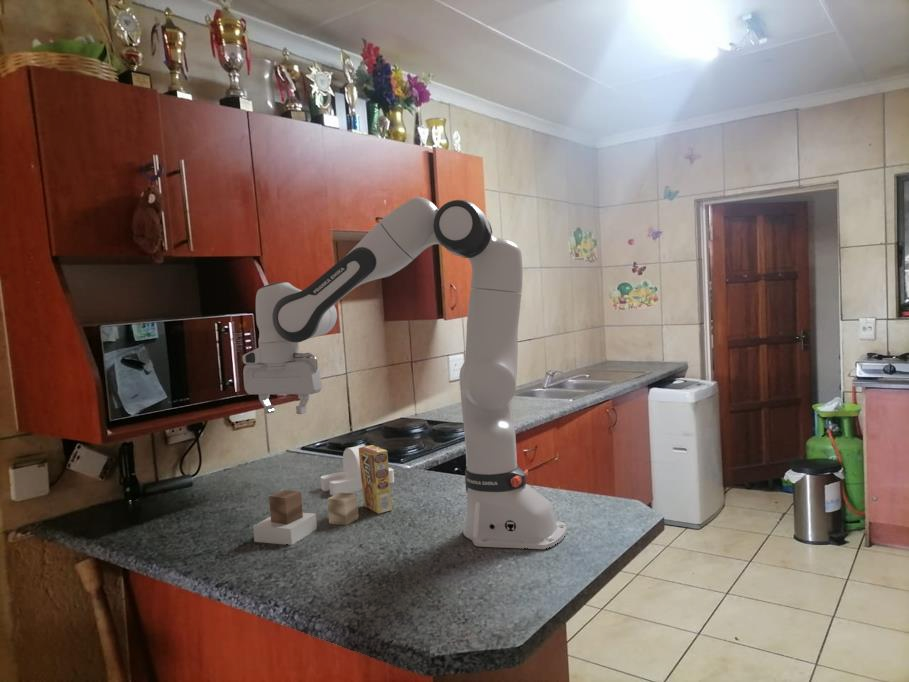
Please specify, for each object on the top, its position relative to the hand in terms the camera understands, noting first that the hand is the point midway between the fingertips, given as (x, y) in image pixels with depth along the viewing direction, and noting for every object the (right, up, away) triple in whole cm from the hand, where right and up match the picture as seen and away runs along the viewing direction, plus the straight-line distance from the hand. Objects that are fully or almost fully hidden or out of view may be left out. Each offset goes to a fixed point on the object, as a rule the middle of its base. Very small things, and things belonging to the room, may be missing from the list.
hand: (285, 413), depth 150 cm
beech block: (+12, -27, +6) cm, 30 cm away
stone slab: (+1, -28, -1) cm, 28 cm away
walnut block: (+1, -24, -1) cm, 24 cm away
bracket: (+12, -25, +36) cm, 45 cm away
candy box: (+20, -26, +14) cm, 35 cm away
